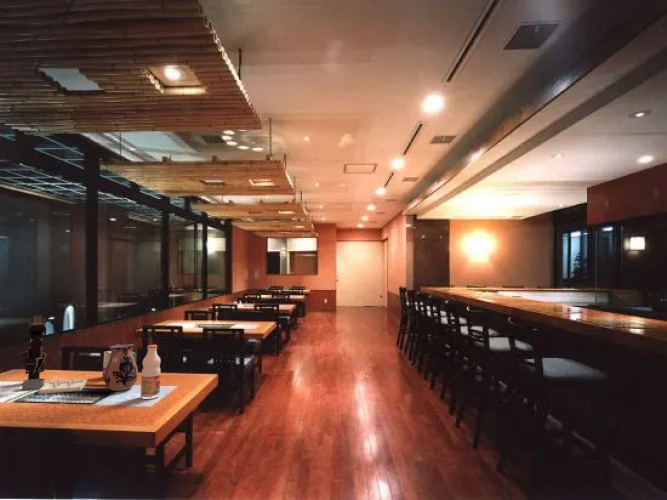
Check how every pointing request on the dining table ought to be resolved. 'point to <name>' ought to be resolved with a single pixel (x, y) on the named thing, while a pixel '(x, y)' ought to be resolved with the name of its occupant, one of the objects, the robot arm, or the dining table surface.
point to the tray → (62, 386)
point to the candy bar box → (106, 360)
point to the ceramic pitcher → (121, 368)
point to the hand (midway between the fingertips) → (34, 373)
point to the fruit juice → (151, 373)
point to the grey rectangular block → (33, 384)
